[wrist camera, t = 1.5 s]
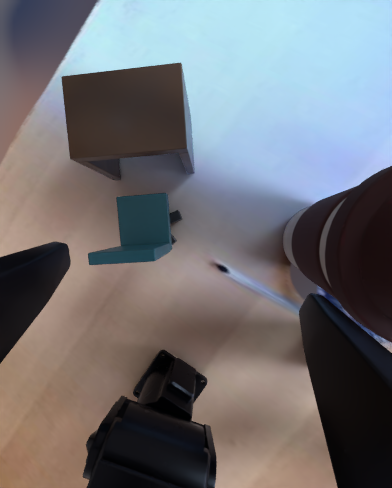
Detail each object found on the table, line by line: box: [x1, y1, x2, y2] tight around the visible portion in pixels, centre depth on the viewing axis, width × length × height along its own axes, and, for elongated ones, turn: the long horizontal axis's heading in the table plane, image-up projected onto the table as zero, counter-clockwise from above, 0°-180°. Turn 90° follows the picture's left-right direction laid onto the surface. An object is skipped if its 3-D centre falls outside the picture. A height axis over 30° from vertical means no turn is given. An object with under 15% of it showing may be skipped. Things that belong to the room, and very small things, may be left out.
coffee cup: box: [283, 166, 392, 342], centre depth 17 cm, size 10×10×15 cm
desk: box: [62, 63, 195, 180], centre depth 21 cm, size 6×9×8 cm, turn 94°
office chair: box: [88, 193, 182, 265], centre depth 20 cm, size 5×6×11 cm
